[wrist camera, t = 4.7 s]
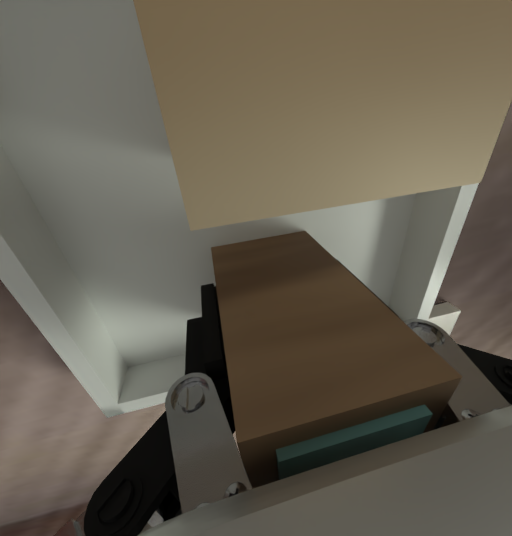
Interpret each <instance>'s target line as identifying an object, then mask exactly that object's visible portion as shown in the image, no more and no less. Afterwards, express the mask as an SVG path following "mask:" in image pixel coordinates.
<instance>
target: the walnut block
mask: <svg viewBox="0 0 512 536" xmlns="http://www.w3.org/2000/svg"><path fill="white" fill-rule="evenodd" d="M211 253H212V260H213V267H214V275H215V282H216V290H217V297H218V304H219V312H220V319H221V327H222V334H223V342H224V349H225V356H226V364H227V371H228V379H229V386H230V394H231V401H232V408H233V416H234V423H235V431H236V438H237V444H238V448H239V451H240V455H241V459H242V462H243V466H244V468H245V470H246V473H247V476H248V478H249V481H250V484H251V487H252V489H254V488H257V487H260V486H263V485H266V484H269V483H272V482H275V481H278V480H281V479H284V478H287V477H290V476H293V475H296V474H299V473H302V472H305V471H309V470H312V469H315V468H318V467H321V466H324V465H327V464H330V463H333V462H336V461H339V460H342V459H345V458H348V457H351V456H354V455H357V454H361V453H364V452H367V451H370V450H373V449H376V448H379V447H382V446H385V445H388V444H391V443H395V442H398V441H401V440H404V439H407V438H410V437H413V436H416V435H419V434H422V433H426V432H429V431H432V430H433V429H434V427H435V425H436V423H437V421H438V420H439V418H440V416H441V414H442V412H443V410H444V409H445V407H446V405H447V403H448V402H449V400H450V398H451V397H452V395H453V393H454V391H455V390H456V388H457V386H458V384H459V383H460V381H461V379H462V376H461V375H460V374H459V373H458V372H457V371H456V370H455V369H454V368H452V367H451V366H450V365H449V364H448V363H447V362H446V361H445V360H444V359H443V358H442V357H441V356H440V355H438V354H437V353H436V352H435V351H434V350H433V349H432V348H431V347H430V346H429V345H428V344H427V343H426V342H424V341H423V340H422V339H421V338H420V337H419V336H418V335H417V334H416V333H415V332H414V331H413V330H412V329H410V328H409V327H408V326H407V325H406V324H405V323H404V322H403V321H402V320H401V319H400V318H399V317H398V316H396V315H395V314H394V313H393V312H392V311H391V310H390V309H389V308H388V307H387V306H386V305H385V304H384V303H382V302H381V301H380V300H379V299H378V298H377V297H376V296H375V295H374V294H373V293H372V292H371V291H370V290H368V289H367V288H366V287H365V286H364V285H363V284H362V283H361V282H360V281H359V280H358V279H357V278H356V277H354V276H353V275H352V274H351V273H350V272H349V271H348V270H347V269H346V268H345V267H344V266H343V265H342V264H340V263H339V262H338V261H337V260H336V259H335V258H334V257H333V256H332V255H331V254H330V253H329V252H328V251H326V250H325V249H324V248H323V247H322V246H321V245H320V244H319V243H318V242H317V241H316V240H315V239H314V238H312V237H311V236H310V235H309V234H308V233H307V232H306V231H300V232H295V233H289V234H284V235H278V236H272V237H267V238H261V239H255V240H250V241H244V242H238V243H233V244H227V245H222V246H216V247H211Z"/></svg>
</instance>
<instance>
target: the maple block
mask: <svg viewBox="0 0 512 536" xmlns="http://www.w3.org/2000/svg"><path fill="white" fill-rule="evenodd" d="M133 2H134V6H135V10H136V14H137V18H138V22H139V26H140V30H141V34H142V38H143V42H144V46H145V50H146V54H147V58H148V62H149V66H150V70H151V74H152V78H153V82H154V86H155V90H156V94H157V98H158V102H159V106H160V110H161V114H162V118H163V123H164V127H165V131H166V135H167V139H168V143H169V147H170V151H171V155H172V159H173V163H174V167H175V171H176V175H177V179H178V183H179V187H180V191H181V195H182V199H183V203H184V207H185V211H186V215H187V219H188V223H189V227H190V231H193V230H199V229H205V228H211V227H217V226H223V225H229V224H235V223H241V222H247V221H253V220H259V219H265V218H271V217H277V216H283V215H289V214H295V213H301V212H307V211H313V210H319V209H325V208H331V207H337V206H343V205H349V204H355V203H361V202H367V201H373V200H379V199H385V198H391V197H397V196H403V195H409V194H415V193H421V192H427V191H433V190H439V189H445V188H451V187H457V186H463V185H469V184H475V183H481V181H482V178H483V176H484V173H485V170H486V168H487V165H488V162H489V160H490V157H491V154H492V152H493V149H494V146H495V144H496V141H497V138H498V136H499V133H500V130H501V128H502V125H503V122H504V120H505V117H506V114H507V112H508V109H509V106H510V104H511V101H512V0H133Z"/></svg>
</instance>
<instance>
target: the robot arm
mask: <svg viewBox="0 0 512 536" xmlns="http://www.w3.org/2000/svg"><path fill="white" fill-rule="evenodd" d="M336 260H337V259H336ZM337 261H338V260H337ZM338 262H339V261H338ZM339 263H340V264H342V263H341V262H339ZM342 265H343V264H342ZM343 266H344V265H343ZM344 267H345V266H344ZM345 268H346V267H345ZM346 269H347V268H346ZM347 270H348V269H347ZM348 271H349V270H348ZM349 272H350V271H349ZM350 273H351V272H350ZM351 274H352V273H351ZM352 275H353V276H354V277H356V276H355V275H354V274H352ZM356 278H357V277H356ZM357 279H358V278H357ZM358 280H359V279H358ZM359 281H360V280H359ZM360 282H361V281H360ZM361 283H362V282H361ZM362 284H363V283H362ZM363 285H364V284H363ZM364 286H365V285H364ZM365 287H366V288H367V289H368V290H370V289H369V288H368V287H367V286H365ZM370 291H371V290H370ZM371 292H372V291H371ZM372 293H373V292H372ZM373 294H374V293H373ZM374 295H375V294H374ZM375 296H376V295H375ZM376 297H377V296H376ZM377 298H378V299H379V300H380V301H381V302H382V303H384V302H383V301H382V300H381V299H380V298H379V297H377ZM384 304H385V303H384ZM385 305H386V304H385ZM386 306H387V305H386ZM201 307H202V317H198V318H194V319H189V320H187V331H186V356H185V376H183V377H181V378H179V379H178V380H177V381H176V382H175V383H174V384H173V385H172V386H171V388H170V389H169V391H168V393H167V396H166V399H165V408H166V411H165V412H164V413H163V414H162V415H161V417H160V418H159V419H158V420H157V421H156V422H155V423H154V424H153V426H152V427H151V428H150V429H149V430H148V431H147V432H146V433H145V435H144V436H143V437H142V438H141V439H140V440H139V441H138V442H137V443H136V445H135V446H134V447H133V448H132V449H131V450H130V451H129V452H128V454H127V455H126V456H125V457H124V458H123V459H122V460H121V461H120V463H119V464H118V465H117V466H116V467H115V468H114V469H113V470H112V471H111V473H110V474H109V475H108V476H107V477H106V478H105V479H104V480H103V482H102V483H101V484H100V486H99V487H98V488H97V490H96V491H95V492H94V494H93V496H92V498H91V500H90V502H89V504H88V506H87V510H86V511H84V512H83V513H82V514H81V515H80V516H79V517H78V518H77V519H76V520H73V519H70V520H69V521H68V522H67V523H66V524H65V525H64V526H63V527H62V528H61V529H60V530H59V531H58V532H57V533H56V534H55V535H54V536H512V360H510V359H506V358H503V357H500V356H496V355H493V354H489V353H486V352H483V351H479V350H476V349H472V348H469V347H466V346H462V345H459V344H456V343H455V341H454V340H453V339H452V338H451V337H450V336H449V335H448V333H447V332H446V331H444V330H443V329H442V328H441V327H439V326H438V325H436V324H434V323H432V322H429V321H426V320H422V319H409V320H406V321H403V320H402V321H403V322H404V323H405V324H406V325H407V326H408V327H409V328H410V329H412V330H413V331H414V332H415V333H416V334H417V335H418V336H419V337H420V338H421V339H422V340H423V341H424V342H426V343H427V344H428V345H429V346H430V347H431V348H432V349H433V350H434V351H435V352H436V353H437V354H438V355H440V356H441V357H442V358H443V359H444V360H445V361H446V362H447V363H448V364H449V365H450V366H451V367H452V368H454V369H455V370H456V371H457V372H458V373H459V374H460V375H461V376H462V379H461V381H460V383H459V384H458V386H457V388H456V390H455V391H454V393H453V395H452V397H451V398H450V400H449V402H448V403H447V405H446V407H445V409H444V410H443V412H442V414H441V416H440V418H439V420H438V421H437V423H436V425H435V427H434V429H433V430H432V431H429V432H426V433H422V434H419V435H416V436H413V437H410V438H407V439H404V440H401V441H398V442H395V443H391V444H388V445H385V446H382V447H379V448H376V449H373V450H370V451H367V452H364V453H361V454H357V455H354V456H351V457H348V458H345V459H342V460H339V461H336V462H333V463H330V464H327V465H324V466H321V467H318V468H315V469H312V470H309V471H305V472H302V473H299V474H296V475H293V476H290V477H287V478H284V479H281V480H278V481H275V482H272V483H269V484H266V485H263V486H260V487H257V488H254V489H252V487H251V484H250V481H249V478H248V476H247V473H246V470H245V468H244V466H243V462H242V459H241V457H240V454H239V451H238V448H237V446H236V443H235V440H234V437H233V433H234V432H235V423H234V416H233V408H232V401H231V394H230V386H229V379H228V371H227V364H226V356H225V349H224V342H223V334H222V327H221V319H220V312H219V304H218V297H217V290H216V286H214V283H212V284H206V285H201ZM387 307H388V306H387ZM388 308H389V307H388ZM389 309H390V308H389ZM390 310H391V311H392V312H393V313H394V314H395V315H396V316H398V315H397V314H396V313H395V312H394V311H393V310H392V309H390ZM398 317H399V316H398Z"/></svg>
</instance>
